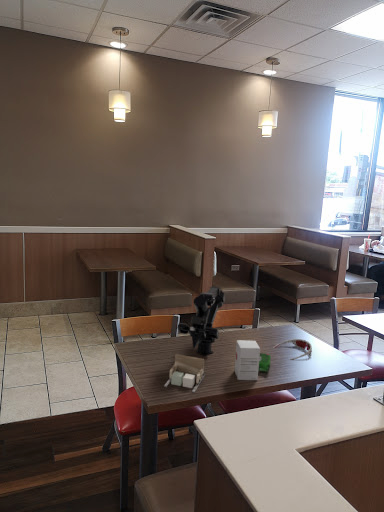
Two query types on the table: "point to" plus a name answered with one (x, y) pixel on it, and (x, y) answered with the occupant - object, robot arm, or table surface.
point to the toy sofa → (188, 366)
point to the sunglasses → (300, 344)
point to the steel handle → (194, 387)
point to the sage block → (177, 378)
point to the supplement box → (247, 360)
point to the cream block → (188, 380)
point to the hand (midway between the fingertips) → (193, 347)
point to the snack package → (264, 362)
